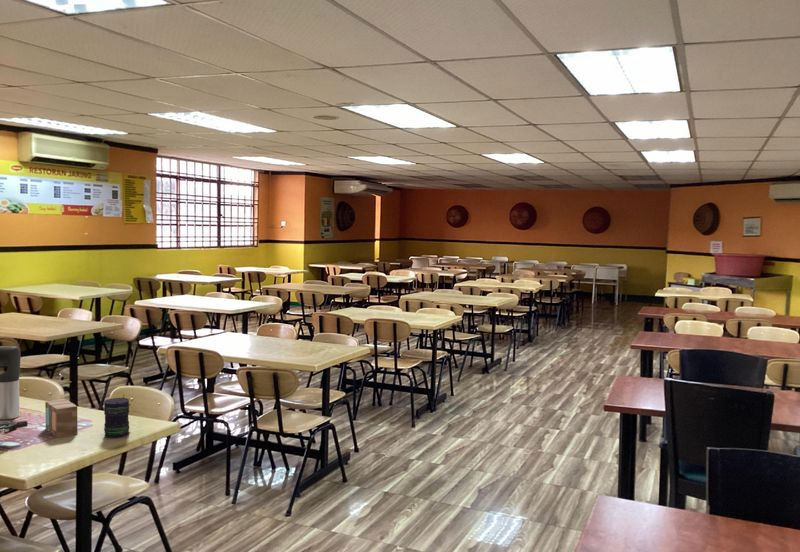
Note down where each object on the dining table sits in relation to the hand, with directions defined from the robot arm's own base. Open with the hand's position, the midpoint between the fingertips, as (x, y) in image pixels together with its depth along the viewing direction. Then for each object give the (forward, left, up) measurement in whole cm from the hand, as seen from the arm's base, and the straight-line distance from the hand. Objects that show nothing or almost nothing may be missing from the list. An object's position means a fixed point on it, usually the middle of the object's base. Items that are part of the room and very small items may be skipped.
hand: (27, 423), depth 266 cm
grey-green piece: (-10, +13, -5) cm, 17 cm away
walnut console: (-5, +14, -7) cm, 17 cm away
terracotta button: (0, +13, -5) cm, 14 cm away
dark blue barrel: (+16, +30, -7) cm, 35 cm away
